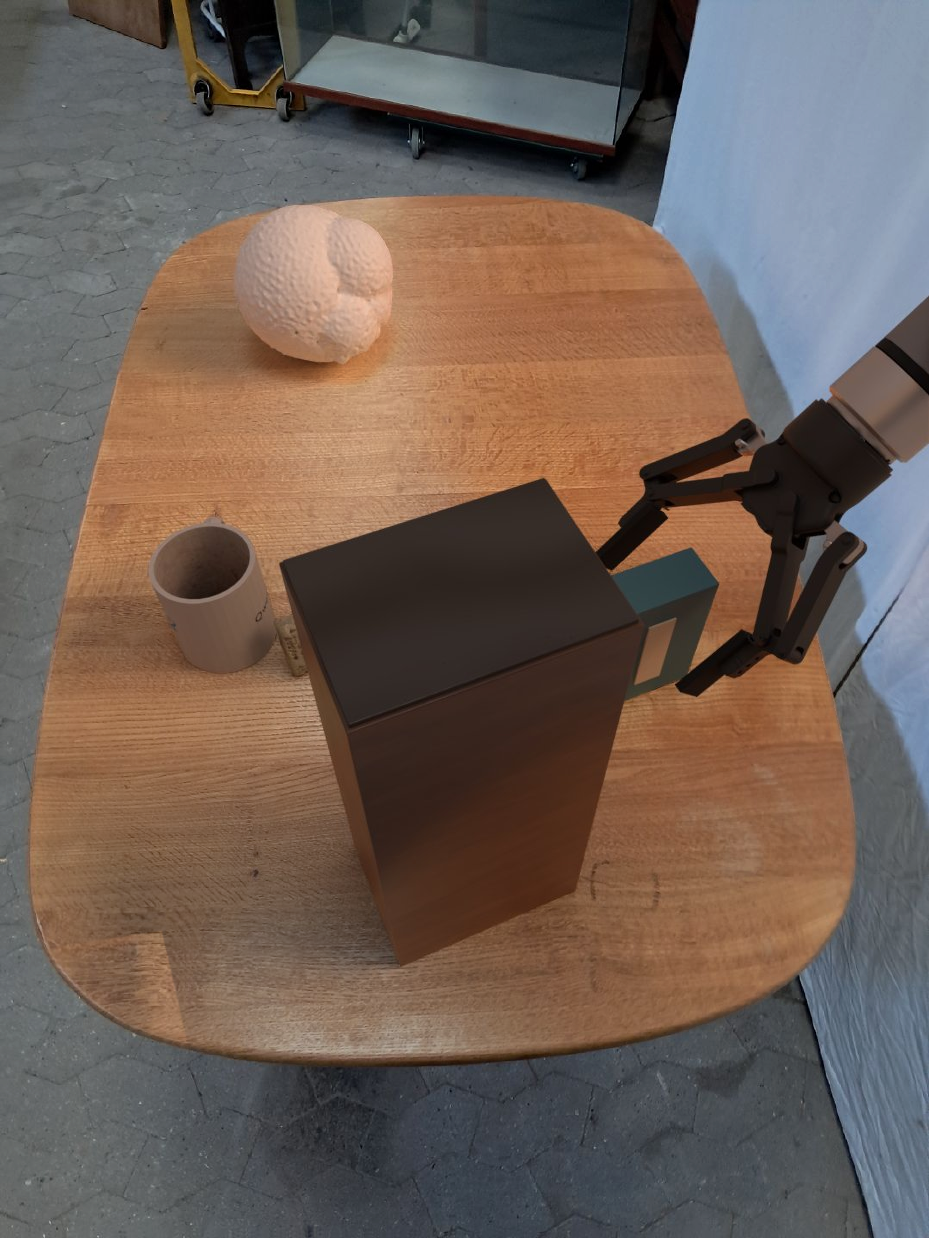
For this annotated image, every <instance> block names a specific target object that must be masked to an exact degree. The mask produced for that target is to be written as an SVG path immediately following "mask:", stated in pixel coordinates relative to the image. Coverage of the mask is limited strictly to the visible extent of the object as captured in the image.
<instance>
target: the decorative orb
mask: <svg viewBox="0 0 929 1238" xmlns="http://www.w3.org/2000/svg"><path fill="white" fill-rule="evenodd" d="M233 273H234V274H233V279H232V282H233V283H232V284H233V292H234V296H235V301H236V303H237V308H238V309H239V311H240V314H241V317H242V319H243V321H244V322H245V323H246V324H247V326H248V327H249V328H250V329H251V330H252V332H253V333H254V334H255V335H257V337H258V338H259V339H260V341H262V342H264V343H265V344H266V345H268V346H269V347H270V349H274V350H275V351H277V352H278V353H281V354H282V356H285V355H286V356H288V357H293V358H295V359H300V360H304V361H309V362H314V363H332V362H336V363H337V364H339V365H344V364H347V362H348V361H349V360H350V359H351V358H353V357H358V355H361V354H364V353H365V352H367V351H368V350H369V349H370V348H371V347H372V345H373V343H374V342H375V341H377V339H378V338H379V336H380V334H381V328H382V327H384V326H386V324H387V323H388V322H389V320H390V318H391V315H392V303H393V294H394V291H393V288H392V282H393V279H394V278H393V277H394V267H393V259H392V255H391V251H390V249H389V248H388V247H387V243H386V242H385V241H384V239H383V238H382V235H381V234H380V233H379V232H378V230H376V229H374V227H372V226H371V225H369V224H368V223H366V222H364V221H362V220H360V219H357V218H350V217H345V216H340V215H339V214H337V213H336V212H334V211H331V210H330V209H326V208H324V207H322V206H317V205H310V204H292V205H286V206H285V205H284V206H282V207H280V208H277V209H275V210H272V211H271V212H270V213H267V214H266V215H264V216H263V217H262V218H261V219H259V220H258V222H257V223H255V224H253V227H252V229H250V230H249V232H248V233H247V236H246V237H245V239H244V240H243V243H242V244H240V248H239V250H238V253H237V256H236V260H235V267H234V270H233Z"/></svg>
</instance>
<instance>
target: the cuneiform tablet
mask: <svg viewBox="0 0 929 1238" xmlns="http://www.w3.org/2000/svg"><path fill="white" fill-rule="evenodd" d="M275 619H276V620H275V621H274V626H275V628H276V631H277V632H276V636H277V637H278V642H279V645H280V648H281V649H282V652H283V655H284V657H285V660H286V662H287V663H288V667H289V671H290V672H291V674H292V675H293V676H294V677H300V676H301V675H304V674H305V673H306V672H308V671H307V667H306V663H305V660H304V656H303V652H302V648H301V645H300V641H299V637H298V633H297V630H296V626H295V622H294V619H293V615H292V613H290V614H288V615H284V616H282V617H279V618H275Z"/></svg>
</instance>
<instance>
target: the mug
mask: <svg viewBox="0 0 929 1238" xmlns="http://www.w3.org/2000/svg"><path fill="white" fill-rule="evenodd" d="M147 566H148V578H149V581H150V584H151V586H152V588H153V590H154V593H155V595H156V597H157V599H158V601H159V603H160V605H161V607H162V610H163V613H164V614H165V616H166V618H167V621H168V623H169V626H170V627H171V629H172V632H173V634H174V636H175V638H176V640H177V642H178V645H179V647H180V649H181V652H182V653H183V655H184V656H185V658H186V659H187V661H188V662H189V663H190V664H191V665H192V666H194V667H196V668H197V669H199V670H202V671H205V672H207V673H213V674H229V673H236V672H239V671H241V670H245V669H247V668H249V667H251V666H253V665H255V664H257V662H259V661H260V660H261V659H263V658H264V657H265V656H266V655H267V654H268V652H269V651H270V650H271V648H272V647H273V646H274V642H275V640H276V637H277V631H276V628H275V626H274V621H275V620H276V619H277V618H276V617H275V616H276V615H275V613H274V609H273V606H272V603H271V599H270V596H269V592H268V589H267V586H266V582H265V578H264V576H263V573H262V569H261V566H260V561H259V559H258V555H257V552H256V549H255V546H254V543H253V542H252V540H251V539H250V537H249V536H248V535H247V534H246V533H245V532H244V531H242V530H241V529H239V528H237V527H236V526H233V525H231V524H226V523H225V521H224V520H223V519H222V517H220V516H216V515H215V516H209V517H207V518H205V520H204V521H203V522H201V523H195V524H192V525H188V526H185V527H182V528H181V529H178V530H176V531H174V532H173V533H172V534H170V535H168V536H167V537H165V538H164V539H163V540H162V541H161V542H160V543H159V544H158V545H157V547H156V548H155V549H154V551H153V553H152V555H151V557H150V559H149V563H148V565H147Z"/></svg>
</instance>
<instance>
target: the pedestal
mask: <svg viewBox="0 0 929 1238" xmlns="http://www.w3.org/2000/svg"><path fill="white" fill-rule="evenodd" d="M278 566H279V569H280V573H281V577H282V581H283V584H284V588H285V593H286V596H287V599H288V604H289V607H290V611H291V614H292V615H293V619H294V622H295V626H296V630H297V633H298V637H299V641H300V645H301V648H302V652H303V656H304V660H305V663H306V667H307V671H306V672H307V674H308V678H309V682H310V685H311V686H310V687H311V689H312V692H313V697H314V701H315V704H316V708H317V712H318V715H319V720H320V723H321V727H322V730H323V734H324V737H325V741H326V745H327V748H328V749H327V750H328V753H329V756H330V760H331V764H332V768H333V771H334V775H335V778H336V782H337V787H338V790H339V793H340V797H341V801H342V805H343V809H344V812H345V815H346V819H347V823H348V827H349V831H350V835H351V838H352V842H353V847H354V848H355V850H356V854H357V856H358V860H359V861H360V864H361V867H362V869H363V872H364V875H365V877H366V881H367V883H368V886H369V888H370V891H371V894H372V897H373V899H374V902H375V904H376V907H377V910H378V913H379V915H380V918H381V920H382V924H383V926H384V929H385V931H386V935H387V937H388V940H389V942H390V945H391V947H392V951H393V953H394V956H395V959H396V961H397V964H398V967H403V966H405V965H407V964H410V963H413V962H416V961H417V960H419V959H421V958H424V957H426V956H428V955H432V954H433V953H435V952H437V951H440V950H442V949H445V948H447V947H449V946H451V945H454V944H456V943H458V942H461V941H463V940H465V939H468V938H470V937H472V936H475V935H477V934H479V933H481V932H483V931H486V930H488V929H491V928H493V927H495V926H497V925H500V924H502V923H504V922H507V921H509V920H511V919H513V918H516V917H518V916H520V915H523V914H525V913H528V912H531V911H532V910H534V909H537V908H539V907H541V906H543V905H546V904H548V903H552V902H553V901H554V900H557V899H560V898H562V897H564V896H566V895H568V894H571V893H574V892H576V889H577V886H578V882H579V879H580V878H579V877H580V874H581V870H582V867H583V862H584V859H585V854H586V852H587V847H588V844H589V840H590V837H591V832H592V828H593V824H594V820H595V816H596V813H597V809H598V805H599V800H600V797H601V794H602V791H603V790H602V789H603V786H604V782H605V777H606V774H607V770H608V767H609V762H610V758H611V754H612V751H613V747H614V743H615V739H616V735H617V732H618V728H619V724H620V720H621V716H622V712H623V708H624V704H625V702H626V701H625V697H626V693H627V689H628V685H629V681H630V678H631V674H632V670H633V666H634V662H635V658H636V654H637V651H638V647H639V643H640V639H641V635H642V631H643V627H644V624H643V622H642V621H641V619H640V618H639V616H638V615H637V613H636V612H635V610H634V609H633V607H632V606H631V604H630V603H629V601H628V600H627V598H626V597H625V595H624V594H623V592H622V591H621V589H620V588H619V587H618V585H617V584H616V582H615V581H614V579H613V578H612V576H611V575H612V574H611V573H610V572H609V569H606V567H605V566H604V564H603V563H602V561H601V560H600V558H599V557H598V555H597V554H596V551H595V549H594V548H593V546H592V545H591V544H590V542H589V541H588V539H587V537H586V536H585V535H584V533H583V532H582V530H581V529H580V527H579V526H578V524H577V523H576V521H575V520H574V518H573V517H572V516H571V513H569V511H568V509H567V507H566V506H565V505H564V503H563V502H562V501H561V499H560V497H559V496H558V494H557V493H556V491H555V490H554V489H553V487H552V485H551V484H550V483H549V481H548V480H547V478H545V477H542V478H539V479H535V480H533V481H529V482H525V483H522V484H519V485H517V486H513V487H510V488H506V489H504V490H501V491H498V492H495V493H490V494H488V495H485V496H481V497H477V498H475V499H472V500H469V501H466V502H462V503H460V504H456V505H453V506H450V507H447V508H443V509H440V510H437V511H434V512H430V513H428V514H424V515H422V516H418V517H416V518H411V519H409V520H406V521H403V522H399V523H396V524H392V525H389V526H387V527H384V528H381V529H377V530H374V531H371V532H368V533H364V534H361V535H358V536H354V537H351V538H348V539H345V540H342V541H340V542H339V541H338V542H336V543H333V544H329V545H327V546H323V547H320V548H317V549H314V550H310V551H307V552H304V553H301V554H298V555H295V556H291V557H288V558H286V559H285V558H284V559H283V560H282V561H280V562H278Z"/></svg>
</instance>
